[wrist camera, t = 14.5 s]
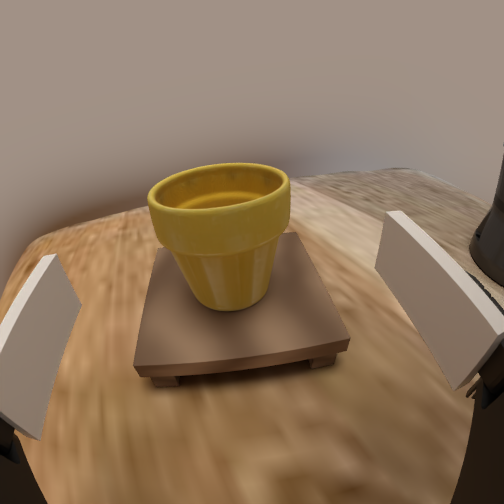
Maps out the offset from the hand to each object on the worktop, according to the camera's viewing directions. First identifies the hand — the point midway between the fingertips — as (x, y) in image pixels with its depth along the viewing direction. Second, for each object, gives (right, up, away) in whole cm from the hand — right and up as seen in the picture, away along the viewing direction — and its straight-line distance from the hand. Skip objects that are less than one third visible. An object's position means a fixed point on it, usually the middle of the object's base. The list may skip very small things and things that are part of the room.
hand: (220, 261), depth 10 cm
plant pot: (-1, -3, +15) cm, 15 cm away
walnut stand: (0, -6, +17) cm, 18 cm away
